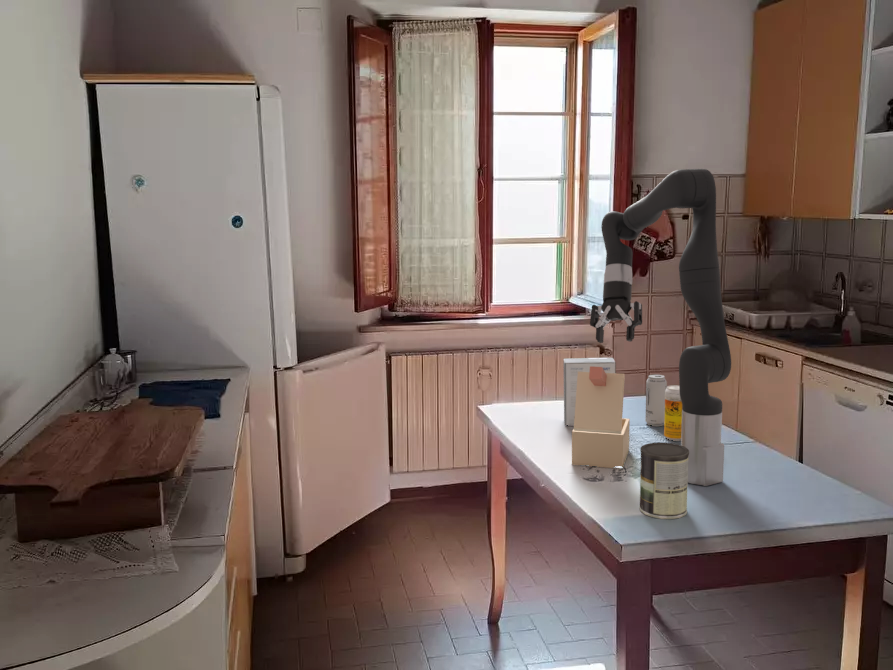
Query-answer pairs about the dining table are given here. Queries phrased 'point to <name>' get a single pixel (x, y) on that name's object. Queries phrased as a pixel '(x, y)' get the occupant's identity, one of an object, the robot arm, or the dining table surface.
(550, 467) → the dining table surface
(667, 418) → the beer can
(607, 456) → the carton
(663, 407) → the energy drink can
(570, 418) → the hard drive box
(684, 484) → the coffee can
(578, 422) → the flap
